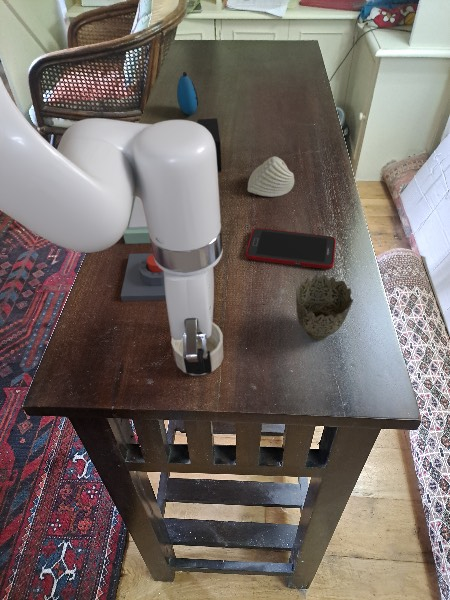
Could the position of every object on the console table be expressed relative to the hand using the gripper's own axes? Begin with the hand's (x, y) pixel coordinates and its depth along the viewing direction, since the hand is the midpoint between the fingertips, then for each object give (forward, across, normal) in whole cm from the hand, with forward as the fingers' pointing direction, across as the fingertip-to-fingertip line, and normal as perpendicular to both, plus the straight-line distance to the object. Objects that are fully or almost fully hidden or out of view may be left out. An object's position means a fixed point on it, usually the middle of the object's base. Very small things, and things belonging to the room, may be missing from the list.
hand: (200, 341), depth 61 cm
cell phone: (+4, -22, +14) cm, 27 cm away
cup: (+4, -4, +16) cm, 17 cm away
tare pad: (+3, -16, -8) cm, 18 cm away
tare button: (+1, -16, -7) cm, 18 cm away
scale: (+3, -32, -8) cm, 33 cm away
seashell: (+4, -42, +12) cm, 44 cm away
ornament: (-2, -76, -6) cm, 76 cm away
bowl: (+4, 0, 0) cm, 4 cm away
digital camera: (+4, -53, 0) cm, 53 cm away
